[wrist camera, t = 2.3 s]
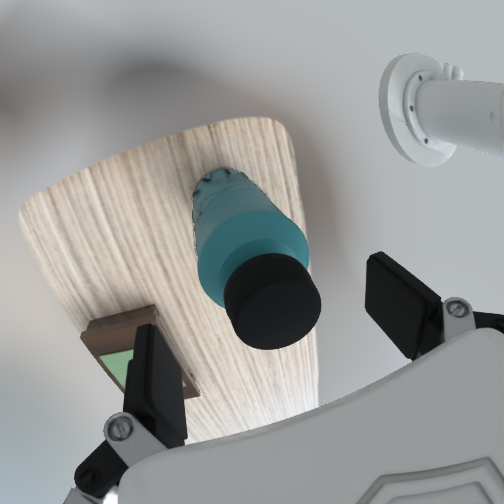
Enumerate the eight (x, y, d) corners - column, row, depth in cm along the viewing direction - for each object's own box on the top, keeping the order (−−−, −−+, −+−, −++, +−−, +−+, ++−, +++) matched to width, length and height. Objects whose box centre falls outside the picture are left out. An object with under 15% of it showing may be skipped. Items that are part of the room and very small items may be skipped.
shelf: (86, 320, 31) (79, 338, 28) (157, 301, 32) (155, 320, 29) (137, 390, 39) (136, 408, 35) (198, 378, 40) (200, 397, 36)
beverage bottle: (246, 158, 27) (354, 224, 10) (257, 217, 30) (349, 347, 13) (184, 172, 26) (175, 271, 9) (199, 232, 30) (222, 386, 12)
